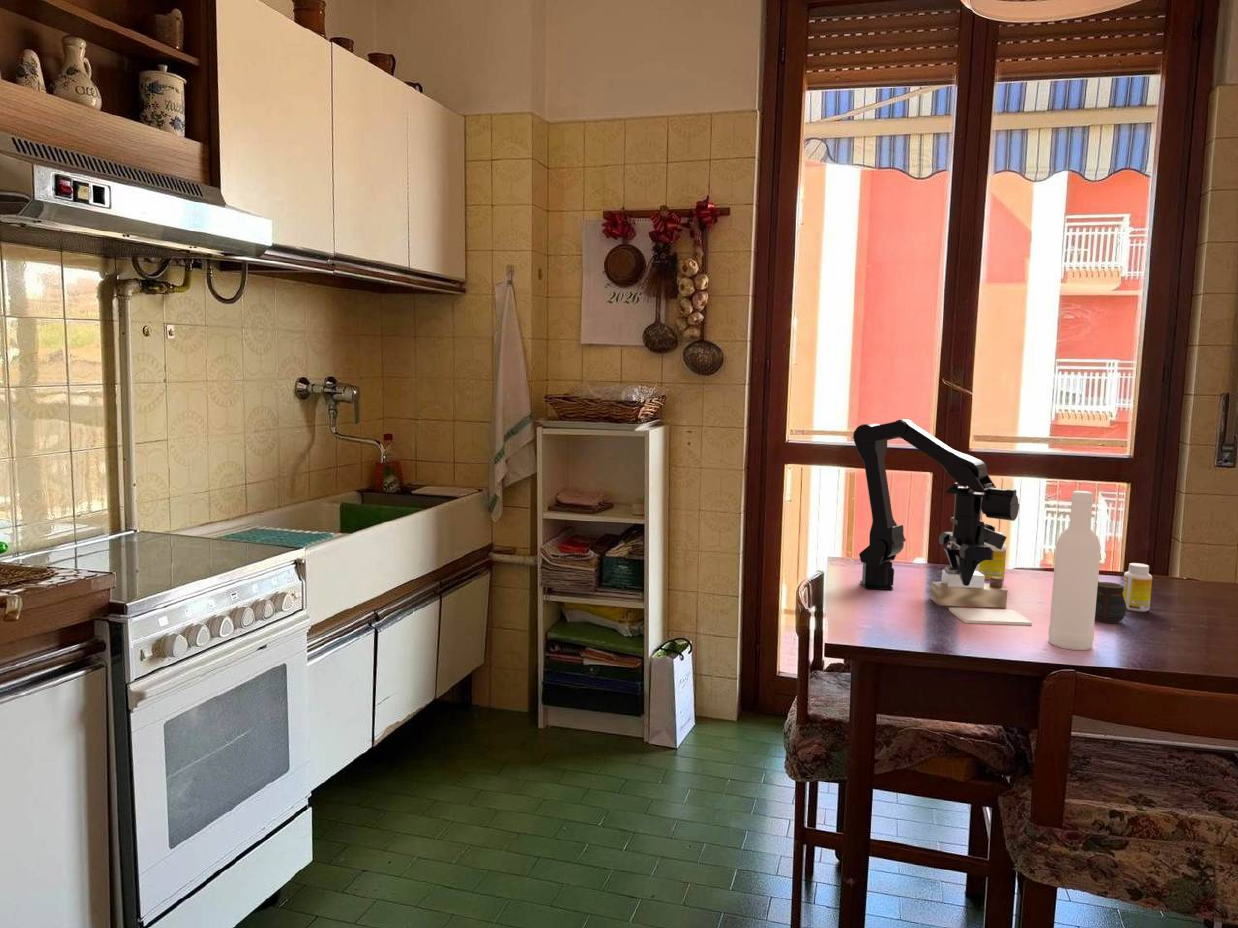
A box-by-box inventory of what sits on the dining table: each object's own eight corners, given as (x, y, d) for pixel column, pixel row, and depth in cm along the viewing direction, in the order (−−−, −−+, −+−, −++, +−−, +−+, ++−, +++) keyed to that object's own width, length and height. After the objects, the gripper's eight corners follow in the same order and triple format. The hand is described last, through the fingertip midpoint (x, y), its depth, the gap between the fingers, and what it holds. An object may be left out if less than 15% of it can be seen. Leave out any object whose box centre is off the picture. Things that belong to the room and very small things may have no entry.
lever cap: (947, 587, 207) (948, 570, 207) (941, 582, 212) (942, 566, 211) (983, 588, 207) (984, 571, 206) (976, 583, 211) (977, 567, 211)
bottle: (1102, 650, 177) (1116, 494, 173) (1066, 651, 175) (1079, 495, 172) (1073, 637, 184) (1086, 489, 181) (1038, 639, 183) (1050, 489, 179)
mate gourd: (1125, 627, 193) (1128, 580, 192) (1084, 621, 197) (1087, 576, 196) (1126, 619, 199) (1130, 574, 198) (1087, 614, 203) (1090, 569, 202)
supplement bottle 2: (1155, 611, 207) (1159, 566, 206) (1136, 613, 205) (1140, 568, 204) (1133, 605, 212) (1137, 561, 211) (1115, 606, 210) (1119, 562, 209)
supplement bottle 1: (1008, 586, 227) (1011, 535, 225) (980, 586, 227) (984, 534, 226) (997, 580, 233) (1001, 530, 232) (971, 579, 234) (974, 529, 232)
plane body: (938, 605, 207) (940, 579, 206) (930, 598, 213) (932, 572, 212) (1006, 607, 207) (1008, 581, 206) (996, 600, 212) (998, 575, 212)
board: (964, 622, 193) (964, 619, 193) (948, 610, 203) (949, 607, 203) (1032, 625, 193) (1032, 622, 193) (1013, 612, 203) (1013, 609, 202)
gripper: (1020, 523, 198) (1014, 594, 200) (988, 509, 217) (983, 574, 218) (967, 521, 198) (962, 592, 200) (940, 508, 217) (935, 573, 219)
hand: (962, 582), depth 209 cm, fingers closed on lever cap, 5 cm apart
